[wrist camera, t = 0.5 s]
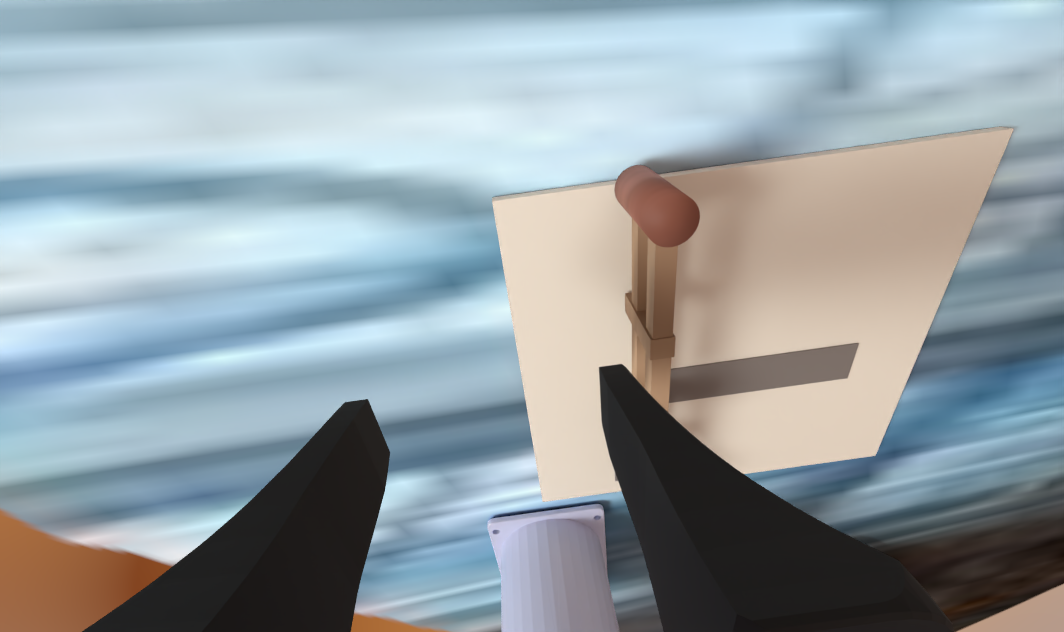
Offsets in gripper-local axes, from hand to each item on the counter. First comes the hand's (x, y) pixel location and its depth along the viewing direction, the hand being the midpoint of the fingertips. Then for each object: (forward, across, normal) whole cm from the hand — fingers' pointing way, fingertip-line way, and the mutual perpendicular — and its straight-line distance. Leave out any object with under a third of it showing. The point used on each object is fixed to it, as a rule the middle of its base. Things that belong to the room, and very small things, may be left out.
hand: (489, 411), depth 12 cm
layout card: (+10, -12, +7) cm, 17 cm away
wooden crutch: (+9, -6, +2) cm, 11 cm away
